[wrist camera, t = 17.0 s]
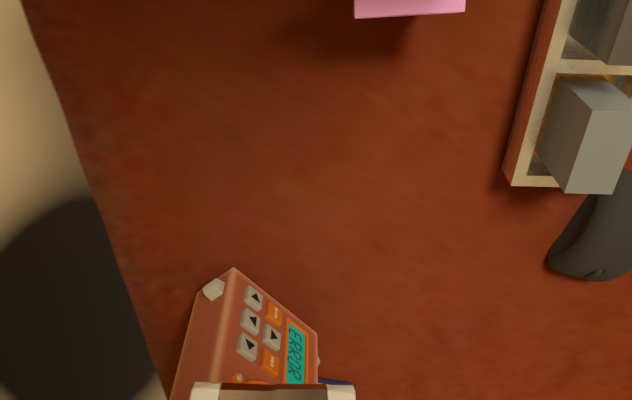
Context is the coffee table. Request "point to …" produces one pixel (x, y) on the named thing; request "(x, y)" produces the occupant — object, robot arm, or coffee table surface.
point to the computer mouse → (598, 236)
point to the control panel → (244, 339)
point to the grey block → (586, 135)
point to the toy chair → (405, 7)
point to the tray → (566, 73)
